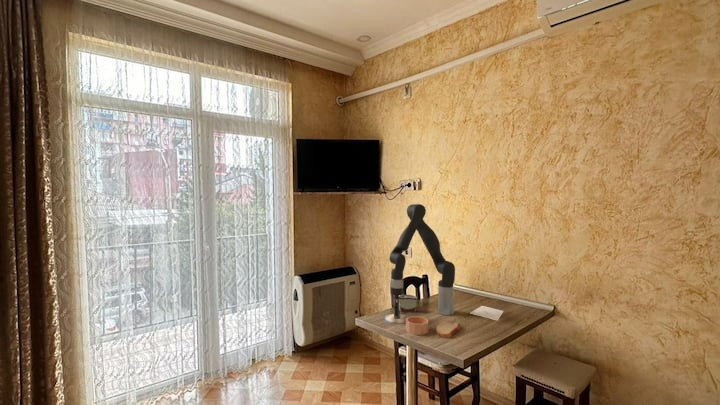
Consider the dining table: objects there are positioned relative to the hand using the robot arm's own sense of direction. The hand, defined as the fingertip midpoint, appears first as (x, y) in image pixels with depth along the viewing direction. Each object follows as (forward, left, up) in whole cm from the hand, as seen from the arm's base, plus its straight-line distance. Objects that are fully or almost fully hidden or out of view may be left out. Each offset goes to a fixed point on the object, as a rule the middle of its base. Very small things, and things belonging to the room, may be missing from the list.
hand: (396, 313), depth 196 cm
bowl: (-11, +15, -4) cm, 19 cm away
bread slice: (-29, +12, -5) cm, 32 cm away
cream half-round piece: (-7, -17, -4) cm, 19 cm away
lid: (0, 0, -4) cm, 4 cm away
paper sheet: (-63, -17, -5) cm, 66 cm away
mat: (0, 0, -4) cm, 4 cm away
